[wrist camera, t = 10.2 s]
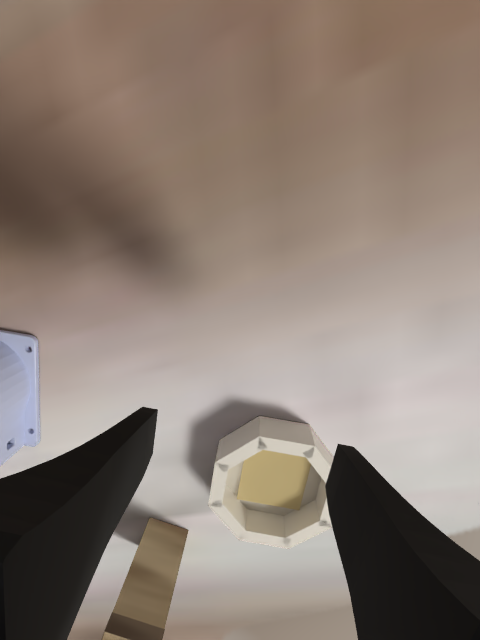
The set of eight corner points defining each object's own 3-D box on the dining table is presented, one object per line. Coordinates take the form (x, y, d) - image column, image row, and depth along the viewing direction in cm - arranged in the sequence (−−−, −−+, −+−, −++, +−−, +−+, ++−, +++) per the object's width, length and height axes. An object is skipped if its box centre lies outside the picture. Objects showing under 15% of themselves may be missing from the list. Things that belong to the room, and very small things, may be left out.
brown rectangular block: (177, 558, 28) (145, 683, 20) (139, 546, 27) (92, 666, 20) (188, 529, 27) (159, 648, 19) (149, 516, 27) (104, 631, 19)
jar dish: (317, 525, 26) (323, 555, 23) (208, 505, 26) (203, 533, 23) (344, 430, 23) (354, 452, 21) (224, 409, 23) (220, 429, 21)
